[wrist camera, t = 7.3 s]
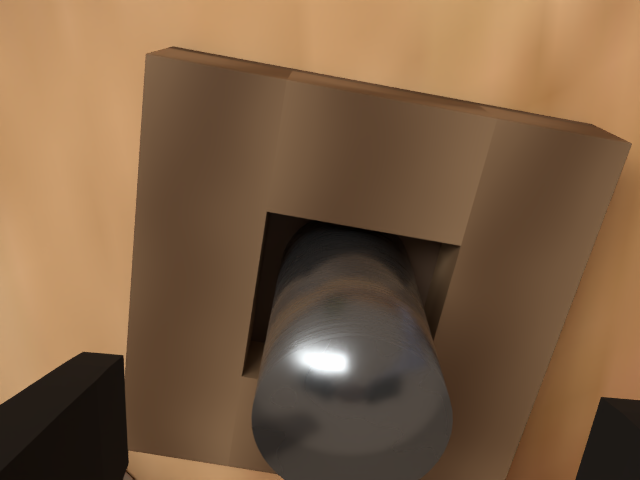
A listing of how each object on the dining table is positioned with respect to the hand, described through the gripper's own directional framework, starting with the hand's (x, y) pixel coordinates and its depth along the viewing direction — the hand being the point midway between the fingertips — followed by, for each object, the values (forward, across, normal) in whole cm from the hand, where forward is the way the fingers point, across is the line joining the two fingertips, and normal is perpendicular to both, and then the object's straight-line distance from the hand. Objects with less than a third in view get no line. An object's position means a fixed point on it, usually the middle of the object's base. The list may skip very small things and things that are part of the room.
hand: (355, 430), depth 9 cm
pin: (+9, 0, +2) cm, 9 cm away
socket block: (+10, 0, +2) cm, 10 cm away
